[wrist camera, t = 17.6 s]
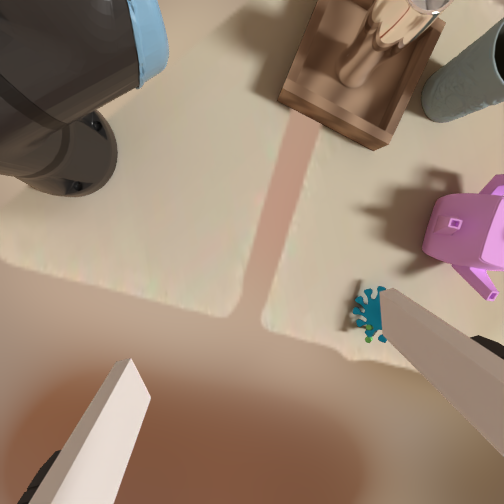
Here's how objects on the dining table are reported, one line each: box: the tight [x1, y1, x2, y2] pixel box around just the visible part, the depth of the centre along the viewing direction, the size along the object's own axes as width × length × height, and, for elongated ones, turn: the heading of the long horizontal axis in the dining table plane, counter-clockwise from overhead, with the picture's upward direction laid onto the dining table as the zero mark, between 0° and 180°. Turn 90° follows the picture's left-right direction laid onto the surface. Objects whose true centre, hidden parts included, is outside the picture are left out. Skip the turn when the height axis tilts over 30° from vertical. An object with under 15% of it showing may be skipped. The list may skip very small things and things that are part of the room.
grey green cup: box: [421, 18, 504, 123], centre depth 35 cm, size 10×10×12 cm
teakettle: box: [422, 174, 504, 301], centre depth 40 cm, size 17×17×12 cm
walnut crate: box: [277, 0, 446, 151], centre depth 37 cm, size 19×19×4 cm
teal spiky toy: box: [353, 286, 387, 343], centre depth 44 cm, size 11×6×10 cm
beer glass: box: [336, 0, 454, 88], centre depth 30 cm, size 7×7×15 cm
